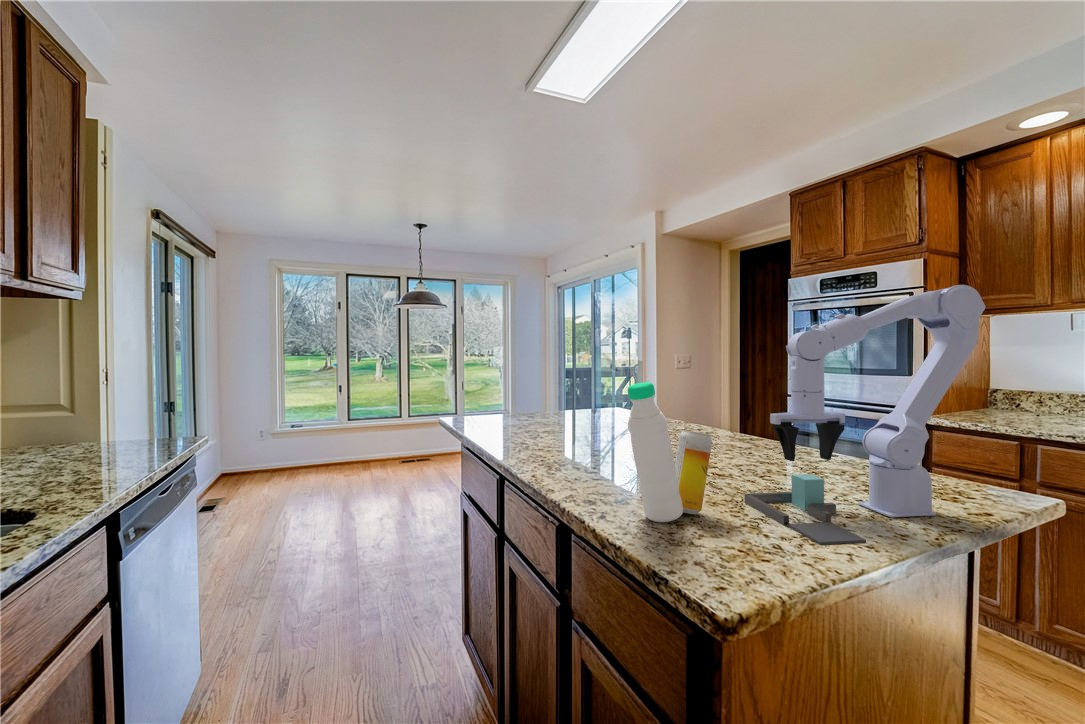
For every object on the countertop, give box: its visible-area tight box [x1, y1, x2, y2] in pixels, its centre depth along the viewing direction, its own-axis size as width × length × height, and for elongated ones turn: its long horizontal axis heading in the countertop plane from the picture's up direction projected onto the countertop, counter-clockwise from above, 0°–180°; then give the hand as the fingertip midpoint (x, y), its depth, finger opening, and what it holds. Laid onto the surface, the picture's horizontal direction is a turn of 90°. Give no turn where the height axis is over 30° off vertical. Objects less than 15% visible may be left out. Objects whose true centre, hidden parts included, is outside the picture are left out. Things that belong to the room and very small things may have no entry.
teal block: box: [791, 473, 825, 512], centre depth 92 cm, size 4×4×6 cm
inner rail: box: [806, 502, 837, 523], centre depth 85 cm, size 6×6×2 cm
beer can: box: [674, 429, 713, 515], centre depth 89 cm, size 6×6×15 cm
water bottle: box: [627, 381, 684, 523], centre depth 84 cm, size 7×7×25 cm
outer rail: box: [744, 491, 792, 527], centre depth 89 cm, size 14×14×2 cm
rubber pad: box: [787, 521, 867, 545], centre depth 78 cm, size 8×8×1 cm
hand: (807, 459), depth 92 cm, fingers open, 7 cm apart
